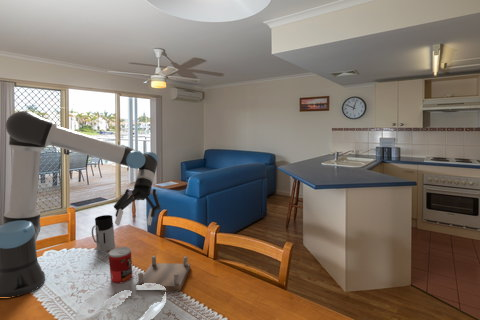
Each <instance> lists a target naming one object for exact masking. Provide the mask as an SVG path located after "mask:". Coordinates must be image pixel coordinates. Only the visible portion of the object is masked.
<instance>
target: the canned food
mask: <svg viewBox="0 0 480 320" xmlns="http://www.w3.org/2000/svg"><path fill="white" fill-rule="evenodd" d="M108 260H109V261H108V263H109V264H108V265H109V273H110V274H109V275H110V276H109V277H110V281H111V282H112V283H116V284H121V283H120V282H123V283H125V281H126V282H128V281H130V280H131V279H132V277H133V263H132V251H131V248H130V247H128V246H122V247H121V246H120V247H115V248H113V249H111V250H109V251H108ZM129 279H130V280H129ZM127 280H128V281H127Z"/></svg>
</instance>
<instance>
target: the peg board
mask: <svg viewBox="0 0 480 320" xmlns="http://www.w3.org/2000/svg"><path fill="white" fill-rule="evenodd" d="M182 260H183V263H165V262H164V263H159V262H158V263H157V257H156V255H153V256H151V263H150V265H149V266H148V268H147V269H146V270H145V272H144V273H143V272H140V273H139V272H138V273H137V275H138V276H137V277H138V281H137V282H136V283H135V285H142V284H144V283H156V284H160V285H162V286H164V287H165V288H166V290H167V291H166V292H180V293H181V290H182V287H183V285H184V283H185V281H186V279H187V277H188V275H189V272H190V270H191V263H188V262H189V261H188V256H183V259H182Z"/></svg>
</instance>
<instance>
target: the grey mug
mask: <svg viewBox="0 0 480 320" xmlns="http://www.w3.org/2000/svg"><path fill="white" fill-rule="evenodd" d="M94 223H95V224H94V225H93V226H92V227H91V228H92V229H91V238H92V239H93V242H94V243H95V244H96V247H95V250H96V251H97V250H98V251H97V252H107V251H108V252H109V251H111V250H112V249H115V248H117V245H116V243H115V241H116V240H115V232H114V230H115V229H114V221H113V215H111V214H110V215H109V214H105V215H100V216H96V217H95V218H94ZM94 229H95V235H94Z"/></svg>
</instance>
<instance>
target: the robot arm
mask: <svg viewBox="0 0 480 320" xmlns="http://www.w3.org/2000/svg"><path fill="white" fill-rule="evenodd" d="M5 130H6V132H7V134H8V135H9V141H8V146H9V147H11V149H12V150H13V153H12V154H13V155H12V168H11V169H12V170H11V182H10V194H9V209H8V210H7V211H6V212H5V213H3V222H2V223H3V224H2V225H0V297H12V296H18V295H21V296H23V295H22V294H24V295H26V294H25V293H27V294H28V292H29V293H31V292H33V291H35V290H37V289H38V288H37V287H39V286H40V285H41V284H42V283H43V282H44V281H46V274H45V271H43V269H42V266H41V265H40V263H39V262H38V255H37V253H38V252H37V240H38V236H39V234H40V232H41V228H42V227H41V211H40V210H38V209H37V204H38V203H37V202H38V192H39V190H38V189H39V177H40V165H41V164H40V163H41V154H42V151H43V150H44V149H46V148H47V147H49V146H53V147H56V148H60V149H64V150H67V151H71V152H75V153H77V154H78V153H79V154H82V155H85V156H90V157H93V158H96V159H100V160H104V161H106V162H107V161H108V162H112V163H116V164H119V165H121V166H126V167H129V168H130V169H134V170H135V169H138V173H137V176H136V179H135V182H134V186H133V189H132V190H130V189H128V188H127V189H125V192H124V194H123V195H122V196H121V197H120V198H119V199H118V201H116V203H115V204H114V205H113V208H114V209H115V210H116V212H115V221H114V223H115V225H116V226H120V224H121V221H122V217H123V214H124V209H126V208H127V207H128V206H129V205H130V204H132V203H133V202H135V201H144V200H146V201H147V203H148V204H149V206H150V208H149V211H148V216H147V220H146V224H147V225H148V226H151V225H152V220H153V218H155V216H156V212H157V210H158V211H160V210H162V207H161V204H160V201H159V198H158V191H157V189H155V188H153V190H152V187H153V183H154V179H155V175H156V171H157V168H158V167H157V166H158V165H159V156H158V154H157V153H155V152H153V151H146V152H144V153H143V152H141V151H140V150H137V149H134V148H131V147H129V146H127V145H124V144H121V145H120V144H117V143H113V142H110V141H108V140H104V139H100V138H98V137H94V136H90V135H87V134H84V133H82V132H78V131H76V130H75V131H74V130H72V129H69V128H64V127H61V126H58V125H57V124H56V122H54V121H51V120H48V119H46V118H44V117H43V116H41V114H40V115H39V114H38V113H36V112H32V111H29V110H28V111H27V110H25V111H24V110H22V111H17V112H14V113H12V114H11V115H10V116H8V117H7V119H6V122H5ZM150 195H152V197H153V199H154V201H155V204H154V203H153V202H152V201H151V198H150V197H149V196H150ZM44 283H45V282H44ZM44 283H43V284H44ZM43 284H42V285H43ZM42 285H41V286H42ZM41 286H40V287H41ZM40 287H39V288H40ZM36 288H37V289H36ZM34 289H35V290H34ZM32 290H33V291H32ZM30 291H31V292H30ZM18 297H19V296H18Z"/></svg>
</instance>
